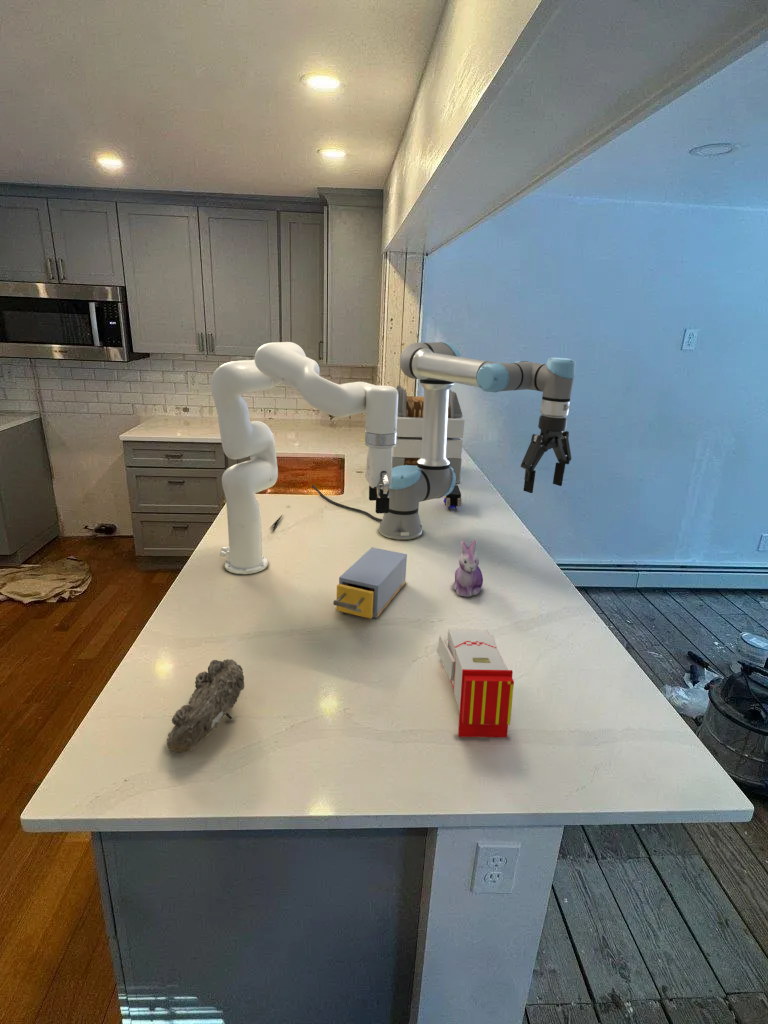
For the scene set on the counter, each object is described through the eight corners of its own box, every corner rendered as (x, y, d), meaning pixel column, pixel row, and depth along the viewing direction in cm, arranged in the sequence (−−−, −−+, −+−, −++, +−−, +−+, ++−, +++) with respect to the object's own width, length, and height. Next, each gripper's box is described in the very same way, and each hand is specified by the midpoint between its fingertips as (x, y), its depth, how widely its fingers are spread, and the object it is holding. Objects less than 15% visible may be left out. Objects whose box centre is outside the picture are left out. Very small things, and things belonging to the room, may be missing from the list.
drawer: (361, 629, 138) (362, 603, 135) (326, 620, 141) (326, 595, 139) (398, 585, 161) (400, 562, 158) (367, 578, 164) (368, 555, 161)
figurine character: (461, 515, 224) (456, 499, 237) (463, 498, 221) (458, 483, 234) (444, 515, 224) (440, 499, 237) (446, 497, 220) (442, 482, 234)
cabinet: (376, 618, 145) (378, 586, 142) (338, 608, 149) (339, 577, 146) (405, 583, 164) (407, 554, 161) (370, 575, 168) (371, 547, 165)
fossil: (192, 660, 117) (244, 628, 112) (224, 691, 120) (276, 661, 115) (142, 746, 98) (202, 712, 93) (182, 779, 101) (242, 748, 96)
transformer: (382, 463, 289) (386, 382, 275) (445, 464, 293) (451, 384, 279) (390, 482, 257) (394, 392, 243) (460, 483, 261) (468, 394, 247)
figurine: (464, 601, 155) (469, 550, 150) (443, 585, 164) (448, 537, 159) (492, 594, 159) (497, 545, 154) (470, 579, 168) (475, 532, 163)
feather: (289, 509, 222) (291, 505, 221) (271, 533, 195) (274, 529, 195) (285, 506, 222) (288, 503, 221) (267, 531, 195) (270, 526, 195)
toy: (488, 613, 130) (523, 677, 101) (484, 667, 133) (517, 744, 104) (435, 612, 130) (455, 676, 101) (432, 666, 133) (451, 743, 103)
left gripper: (359, 431, 143) (358, 496, 149) (371, 447, 127) (369, 518, 133) (389, 431, 144) (386, 495, 150) (404, 446, 128) (400, 517, 134)
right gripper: (536, 421, 148) (525, 498, 155) (591, 414, 162) (579, 485, 170) (513, 416, 153) (504, 491, 161) (569, 410, 168) (558, 478, 175)
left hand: (378, 506), depth 141 cm, fingers open, 9 cm apart
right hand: (542, 488), depth 165 cm, fingers open, 13 cm apart
